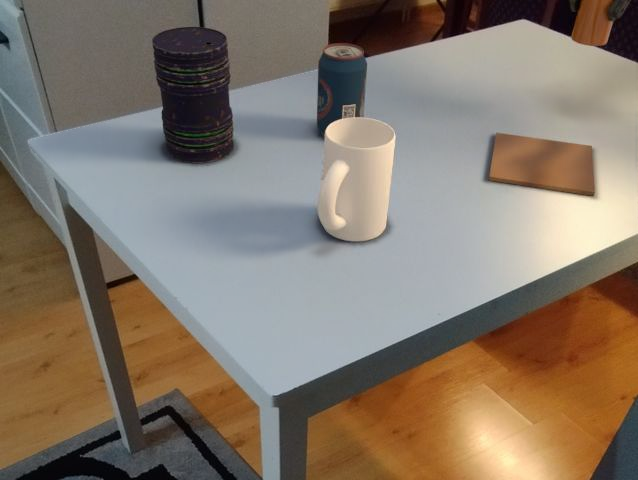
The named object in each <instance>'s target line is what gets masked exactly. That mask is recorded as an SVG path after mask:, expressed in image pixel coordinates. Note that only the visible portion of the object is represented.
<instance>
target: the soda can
mask: <svg viewBox="0 0 638 480" xmlns="http://www.w3.org/2000/svg"><path fill="white" fill-rule="evenodd" d="M317 63H318V68H317V97H316V98H317V99H316V127H317V128H318V130H319V131H320V133H321V135H322V136H324V137H325V130H326V129H327V127H328V126H329V125H330V124H331V123H333V122H335V121H337V120H340V119H344V118H353V117H361V118H365V117H364V114H365V102H366V89H367V88H366V87H367V73H368V62H367V59H366V57H365V50H364V49H363V47H361V46H359V45H356V44H353V43H346V42H339V43H338V42H337V43H331V44H327V45H326V46H324V47H323V49H322V54H321V55H320V57H319V59H318V61H317Z"/></svg>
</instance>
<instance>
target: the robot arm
mask: <svg viewBox="0 0 638 480" xmlns="http://www.w3.org/2000/svg"><path fill="white" fill-rule="evenodd" d="M631 1H632V0H614V2H613V3H612V5H611V7H610V8H609V10H608V12H607V17H608V21H612V22H613V23H614V22H615V21H616V19H620V18H621V17H622V16H623V14H624V12H625V11H626V9H627V8H628V6H629V4H630V3H631ZM568 2H569V7H570V11H571V12H574V13H578V10H579V6H580V2H581V0H568Z"/></svg>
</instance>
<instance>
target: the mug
mask: <svg viewBox="0 0 638 480" xmlns="http://www.w3.org/2000/svg"><path fill="white" fill-rule="evenodd" d="M395 146H396V133H395V130H394V129H393V127H391V126H390V125H389V124H387V123H385V122H383V121H381V120H378V119H375V118H371V117H363V118H361V117H353V118H344V119H340V120H337V121H335V122H333V123H331V124H330V125H329V126H328V127H327V129H326V130H325V136H324V144H323V158H322V160H321V164H322V165H323V169H322V170H321V175H320V180H322V183H321V185H320V189H319V192H318V197H317V215H318V218H319V221H320V223H321V225H322V227H323V228H324V230H325V232H327V234H329V235H331V236H332V237H334V238H336V239H339V240H343V241H347V242H365V241H370V240H374V239H375V238H377V237H379V236H380V235H382V234H383V232H384V231H385V230H386V227H387V222H388V221H387V220H388V212H389V210H388V209H389V203H390V202H389V201H390V193H391V185H392V184H391V183H392V175H393V166H394V158H395V157H394V156H395Z"/></svg>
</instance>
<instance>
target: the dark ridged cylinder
mask: <svg viewBox="0 0 638 480" xmlns="http://www.w3.org/2000/svg"><path fill="white" fill-rule="evenodd" d="M151 43H152V49H153V58H154V59H153V64H154V71H155V75H156V76H155V79H156V83H157V86H158V87H159V90H160V96H161V104H162V109H161V121H162V130H163V135H164V140H165V142H166V144H165V145H166V147H165V148H166V152H167V154H168V155H169V156H170V157H171V158H173V159H175V160H177V161H180V162H183V163H189V164H208V163H213V162H217V161H221V160H224V159H225V158H227V157H228V156H230V155H231V154H232V153H233V151H234V149H235V142H234V130H235V129H234V127H235V126H234V120H233V119H234V118H233V117H234V114H233V109H232V107H231V104H230V87H229V86H230V83H231V73H230V68H231V66H230V57H229V49H228V37H227V35H226V34H225V33H224V32H221V31H220V30H217V29H214V28H209V27H204V26H203V27H202V26H182V27H173V28H169V29H165V30H162V31H160V32H157V34H155V35H153V37H152V38H151Z"/></svg>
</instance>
